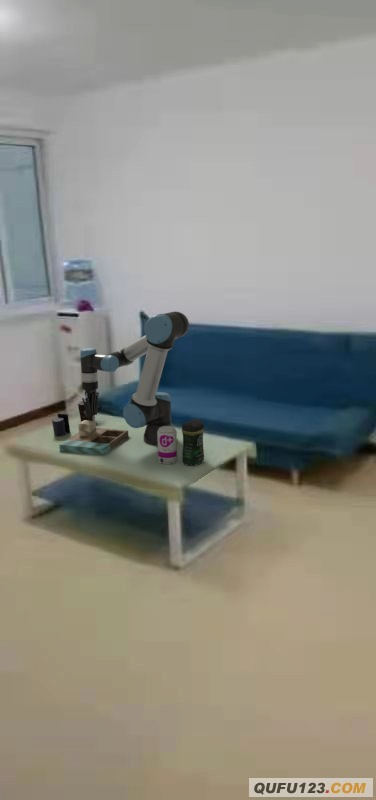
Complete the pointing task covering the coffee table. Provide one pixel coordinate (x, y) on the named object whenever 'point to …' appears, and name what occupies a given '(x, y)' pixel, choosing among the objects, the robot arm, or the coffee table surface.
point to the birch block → (87, 428)
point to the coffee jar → (193, 442)
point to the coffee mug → (82, 411)
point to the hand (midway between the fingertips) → (92, 428)
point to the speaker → (61, 425)
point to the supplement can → (167, 444)
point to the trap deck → (94, 441)
